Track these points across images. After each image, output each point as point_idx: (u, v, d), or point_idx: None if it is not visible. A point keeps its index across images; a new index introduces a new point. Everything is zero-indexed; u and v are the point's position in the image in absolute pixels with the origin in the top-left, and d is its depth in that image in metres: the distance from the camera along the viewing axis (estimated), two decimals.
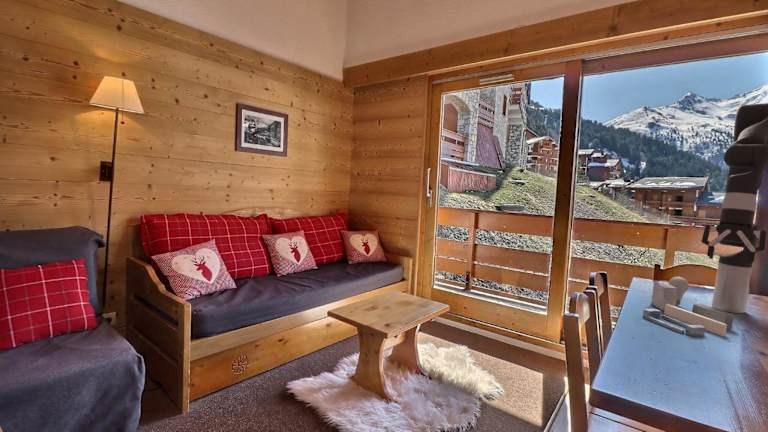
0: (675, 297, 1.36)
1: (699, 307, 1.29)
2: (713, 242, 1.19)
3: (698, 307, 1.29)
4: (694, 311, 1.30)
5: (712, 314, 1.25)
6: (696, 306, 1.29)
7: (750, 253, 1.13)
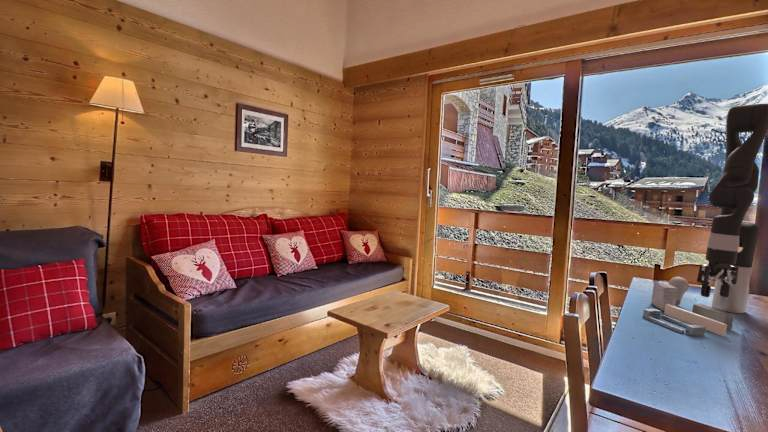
0: (675, 297, 1.36)
1: (699, 307, 1.29)
2: (711, 282, 1.23)
3: (698, 307, 1.29)
4: (694, 311, 1.30)
5: (712, 314, 1.25)
6: (696, 306, 1.29)
7: (729, 287, 1.25)
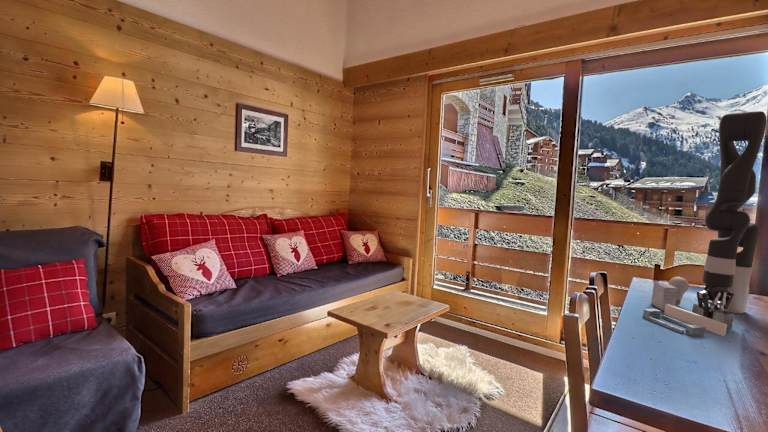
0: (675, 297, 1.36)
1: None
2: (712, 307, 1.24)
3: (698, 306, 1.29)
4: (694, 310, 1.30)
5: (712, 314, 1.25)
6: (696, 305, 1.29)
7: None
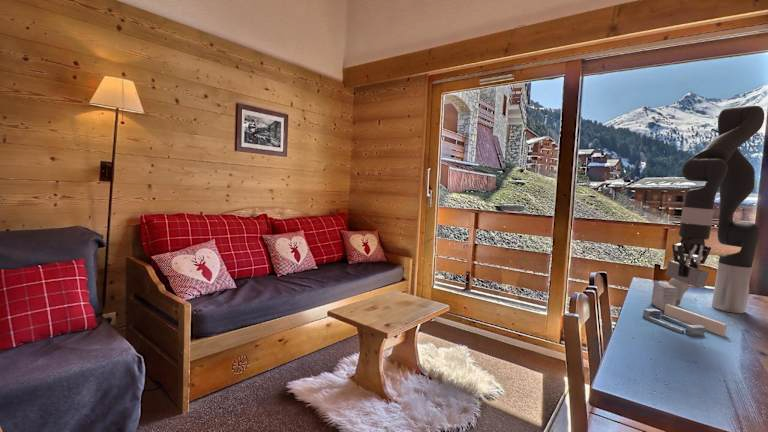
0: (675, 297, 1.36)
1: (674, 263, 1.23)
2: (688, 261, 1.19)
3: (673, 263, 1.23)
4: (669, 267, 1.25)
5: None
6: (671, 262, 1.24)
7: (697, 267, 1.20)
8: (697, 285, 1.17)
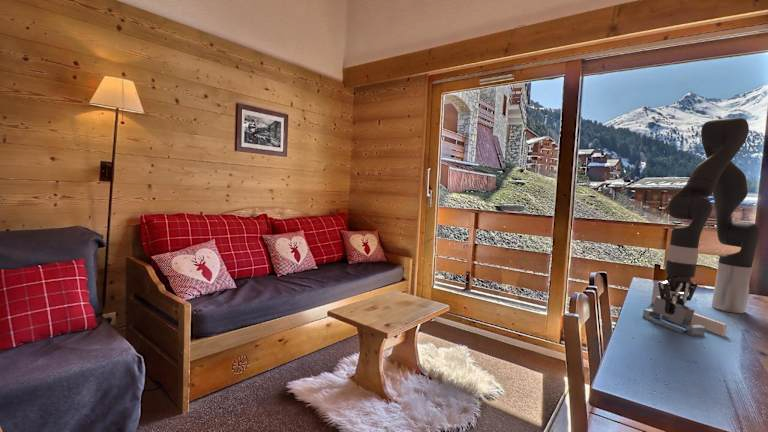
0: None
1: (661, 300, 1.24)
2: (674, 298, 1.19)
3: (660, 299, 1.24)
4: (656, 303, 1.25)
5: None
6: (658, 298, 1.25)
7: (683, 304, 1.21)
8: (683, 323, 1.17)
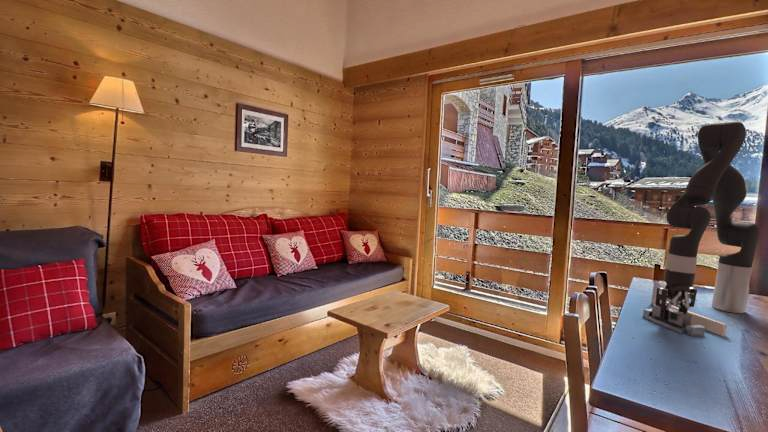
0: None
1: (658, 308, 1.25)
2: (669, 305, 1.19)
3: (657, 308, 1.25)
4: (653, 312, 1.26)
5: (670, 315, 1.21)
6: (655, 307, 1.26)
7: (686, 310, 1.21)
8: None
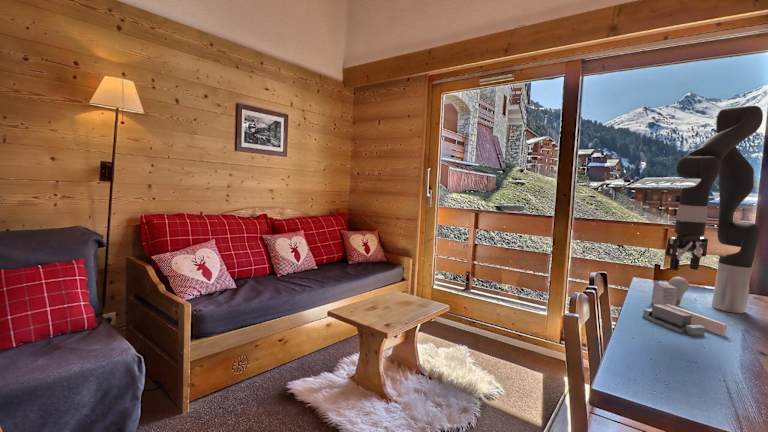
0: (675, 297, 1.36)
1: (658, 308, 1.25)
2: (680, 255, 1.20)
3: (657, 308, 1.25)
4: (653, 312, 1.26)
5: (670, 315, 1.21)
6: (655, 307, 1.26)
7: (699, 260, 1.23)
8: None
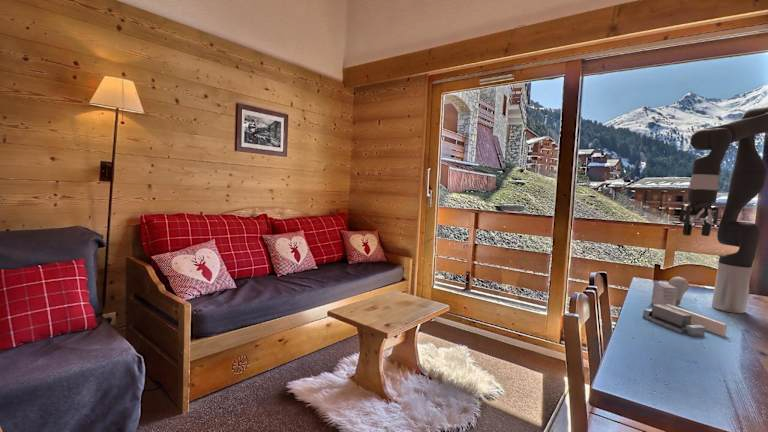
0: (675, 297, 1.36)
1: (658, 308, 1.25)
2: (692, 220, 1.28)
3: (657, 308, 1.25)
4: (653, 312, 1.26)
5: (670, 315, 1.21)
6: (655, 306, 1.26)
7: (710, 227, 1.31)
8: None
